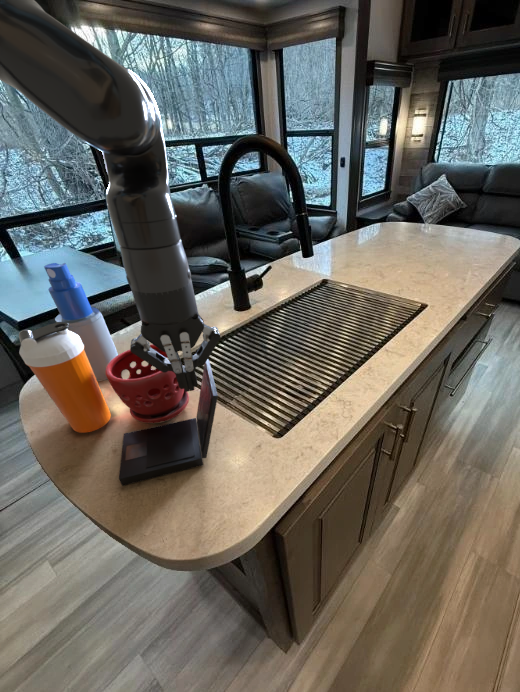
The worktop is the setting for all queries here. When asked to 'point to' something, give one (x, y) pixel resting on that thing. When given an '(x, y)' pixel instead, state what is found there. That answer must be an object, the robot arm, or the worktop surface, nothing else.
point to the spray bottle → (81, 318)
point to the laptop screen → (206, 408)
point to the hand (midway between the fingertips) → (189, 388)
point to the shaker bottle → (65, 375)
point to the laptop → (160, 451)
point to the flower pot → (146, 389)
